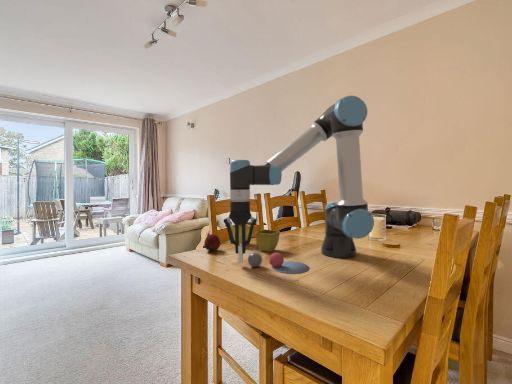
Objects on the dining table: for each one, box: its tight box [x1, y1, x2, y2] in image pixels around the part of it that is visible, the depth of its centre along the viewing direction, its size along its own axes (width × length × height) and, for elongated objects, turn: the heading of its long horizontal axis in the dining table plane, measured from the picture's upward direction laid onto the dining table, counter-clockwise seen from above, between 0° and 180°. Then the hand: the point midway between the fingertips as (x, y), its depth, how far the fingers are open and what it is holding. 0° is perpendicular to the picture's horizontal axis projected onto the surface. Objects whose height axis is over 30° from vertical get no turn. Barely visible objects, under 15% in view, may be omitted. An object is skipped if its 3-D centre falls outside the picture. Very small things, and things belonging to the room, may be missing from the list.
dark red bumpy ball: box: [203, 233, 221, 252], centre depth 125 cm, size 7×8×8 cm
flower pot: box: [254, 229, 280, 253], centre depth 126 cm, size 9×9×9 cm
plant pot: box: [230, 224, 251, 246], centre depth 137 cm, size 10×10×10 cm
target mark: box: [271, 260, 310, 275], centre depth 101 cm, size 14×14×1 cm
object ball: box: [268, 252, 284, 267], centre depth 101 cm, size 6×6×6 cm
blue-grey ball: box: [247, 251, 263, 268], centre depth 102 cm, size 6×6×6 cm
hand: (240, 261), depth 102 cm, fingers closed
